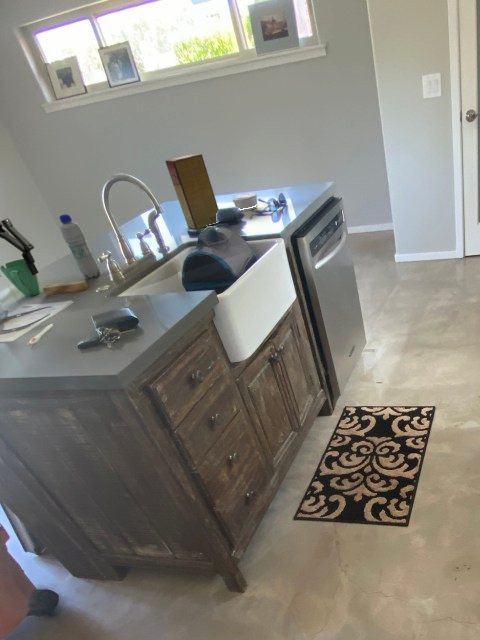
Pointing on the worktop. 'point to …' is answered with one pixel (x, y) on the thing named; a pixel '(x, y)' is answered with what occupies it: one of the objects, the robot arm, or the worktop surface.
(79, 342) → the worktop surface
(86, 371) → the worktop surface
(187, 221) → the food packaging
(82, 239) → the bottle
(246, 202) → the ramekin
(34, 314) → the worktop surface
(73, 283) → the stick
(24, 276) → the mug
